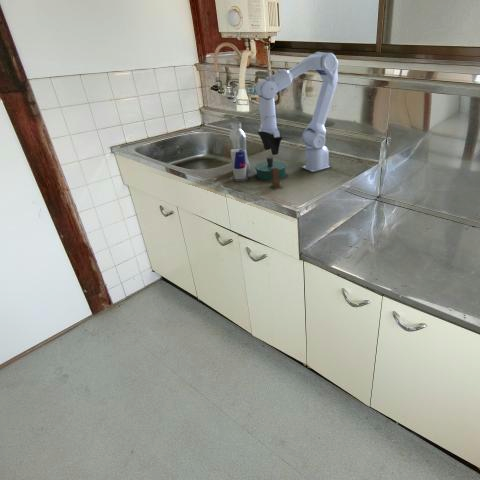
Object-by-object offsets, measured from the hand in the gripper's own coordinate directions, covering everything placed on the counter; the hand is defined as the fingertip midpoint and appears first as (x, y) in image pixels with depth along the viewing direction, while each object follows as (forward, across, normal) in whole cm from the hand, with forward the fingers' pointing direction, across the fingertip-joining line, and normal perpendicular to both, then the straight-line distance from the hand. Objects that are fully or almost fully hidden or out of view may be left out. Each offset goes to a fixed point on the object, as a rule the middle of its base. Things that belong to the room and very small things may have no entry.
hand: (271, 151), depth 141 cm
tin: (+10, 0, -1) cm, 10 cm away
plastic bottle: (+10, -12, -9) cm, 18 cm away
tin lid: (+6, 0, -1) cm, 6 cm away
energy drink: (+10, -3, -12) cm, 16 cm away
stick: (+10, +11, -4) cm, 16 cm away
